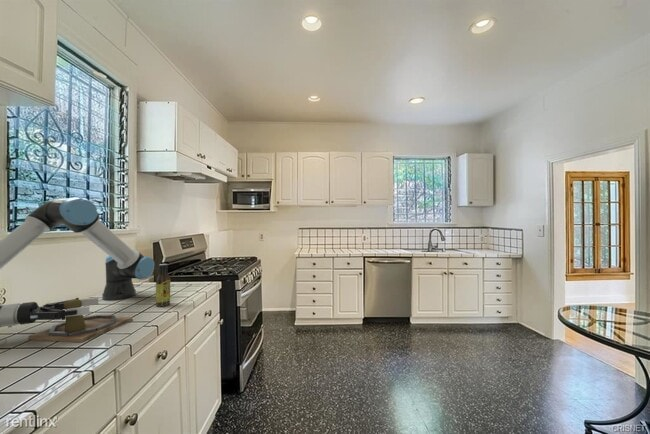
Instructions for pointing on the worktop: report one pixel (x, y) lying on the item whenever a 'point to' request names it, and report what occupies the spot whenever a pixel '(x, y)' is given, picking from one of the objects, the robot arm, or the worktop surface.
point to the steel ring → (55, 333)
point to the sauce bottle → (163, 286)
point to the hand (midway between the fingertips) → (94, 305)
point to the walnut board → (85, 336)
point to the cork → (74, 317)
